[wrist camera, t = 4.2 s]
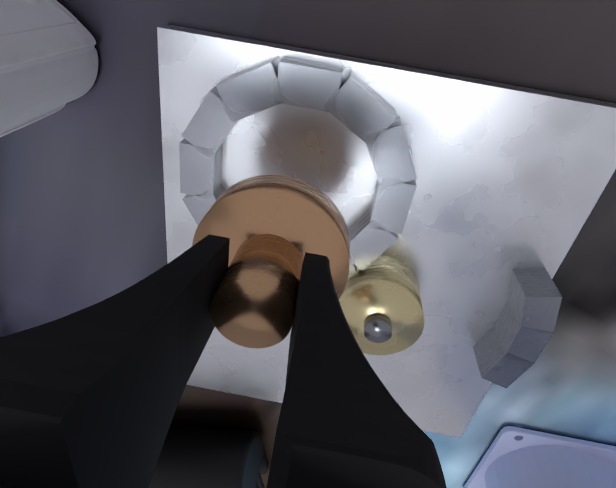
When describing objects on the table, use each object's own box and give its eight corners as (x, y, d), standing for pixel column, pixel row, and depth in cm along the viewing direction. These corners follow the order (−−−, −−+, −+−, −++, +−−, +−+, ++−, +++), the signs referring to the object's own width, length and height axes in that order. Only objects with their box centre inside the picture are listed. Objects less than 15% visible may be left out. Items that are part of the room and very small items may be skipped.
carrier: (633, 106, 16) (701, 141, 13) (457, 423, 27) (470, 486, 24) (167, 24, 17) (117, 38, 13) (178, 369, 28) (152, 424, 24)
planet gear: (366, 193, 14) (369, 256, 10) (332, 316, 16) (324, 401, 13) (211, 158, 14) (160, 209, 10) (200, 287, 16) (155, 364, 13)
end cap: (258, 405, 29) (231, 512, 23) (276, 466, 33) (256, 571, 27) (122, 402, 31) (65, 501, 25) (153, 461, 34) (110, 559, 29)
